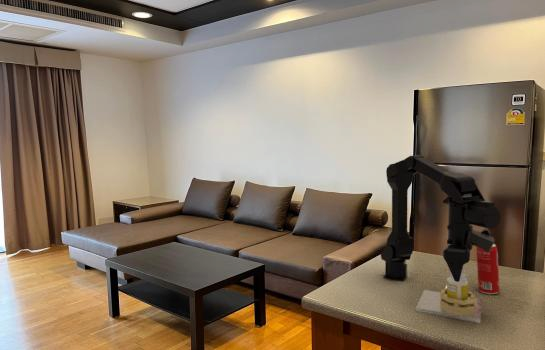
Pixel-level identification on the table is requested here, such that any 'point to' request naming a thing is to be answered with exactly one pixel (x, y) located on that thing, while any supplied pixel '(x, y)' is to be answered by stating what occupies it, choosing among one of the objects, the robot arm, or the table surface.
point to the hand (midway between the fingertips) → (458, 275)
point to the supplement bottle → (457, 287)
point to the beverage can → (488, 270)
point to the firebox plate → (450, 305)
